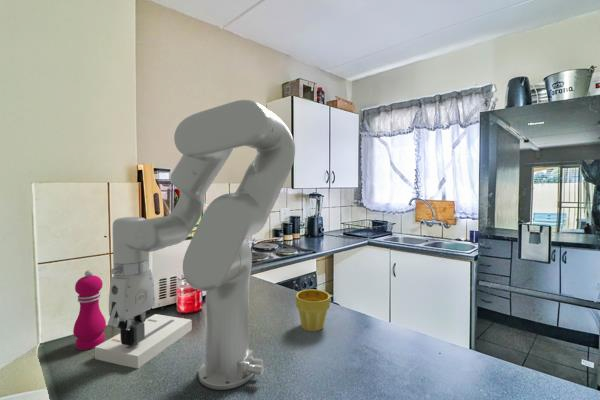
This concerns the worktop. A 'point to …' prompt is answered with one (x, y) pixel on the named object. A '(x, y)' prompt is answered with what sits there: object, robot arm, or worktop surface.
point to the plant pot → (312, 308)
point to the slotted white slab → (144, 341)
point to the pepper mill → (89, 313)
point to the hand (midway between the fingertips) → (132, 340)
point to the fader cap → (137, 331)
